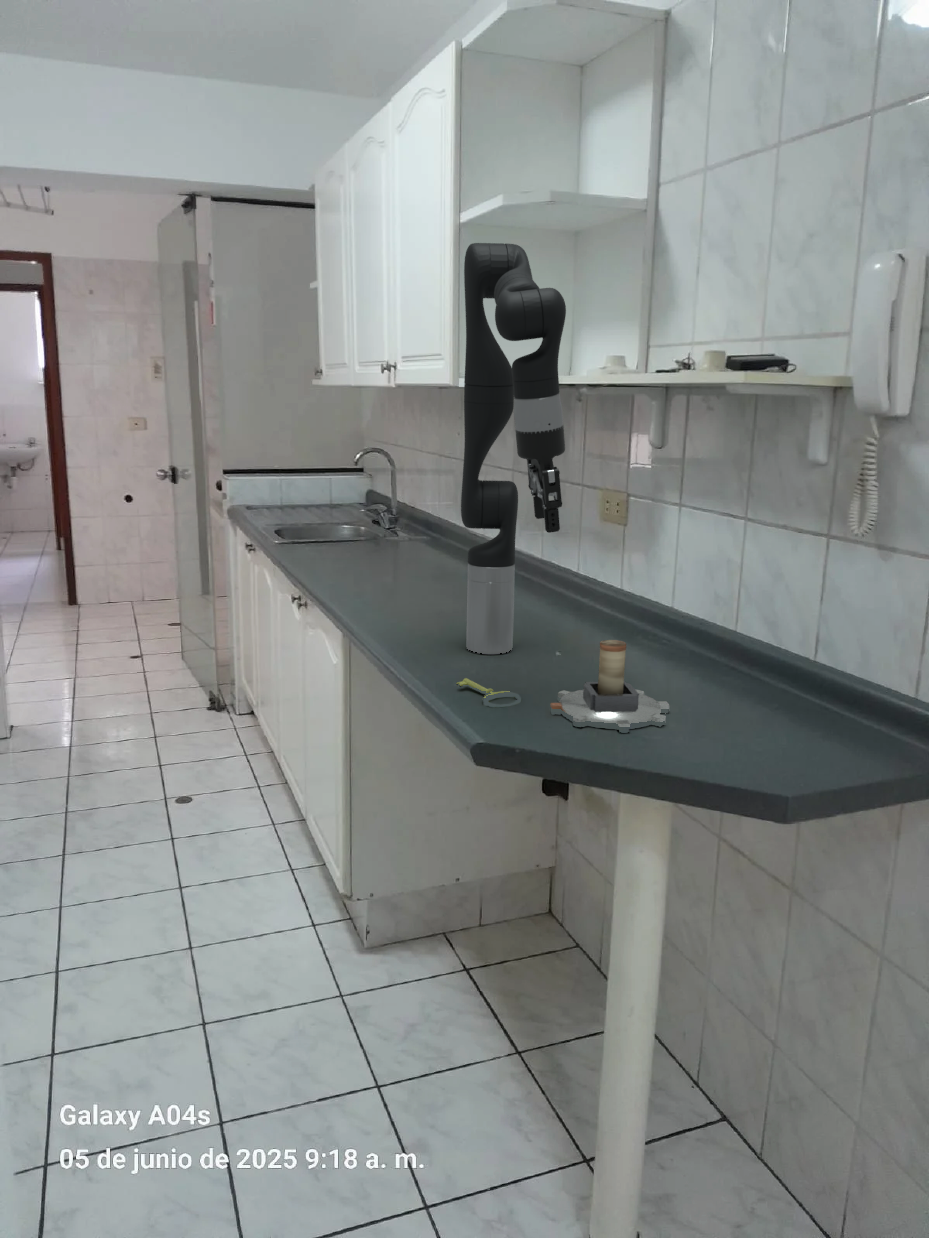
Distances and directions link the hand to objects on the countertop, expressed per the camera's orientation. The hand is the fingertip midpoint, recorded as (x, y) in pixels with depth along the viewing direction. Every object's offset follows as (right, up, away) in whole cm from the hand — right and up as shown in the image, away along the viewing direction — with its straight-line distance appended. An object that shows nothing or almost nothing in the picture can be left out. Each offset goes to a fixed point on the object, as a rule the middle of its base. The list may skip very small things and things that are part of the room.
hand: (547, 524), depth 153 cm
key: (-9, -29, +5) cm, 31 cm away
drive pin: (+10, -29, -2) cm, 31 cm away
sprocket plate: (+10, -30, -2) cm, 32 cm away
